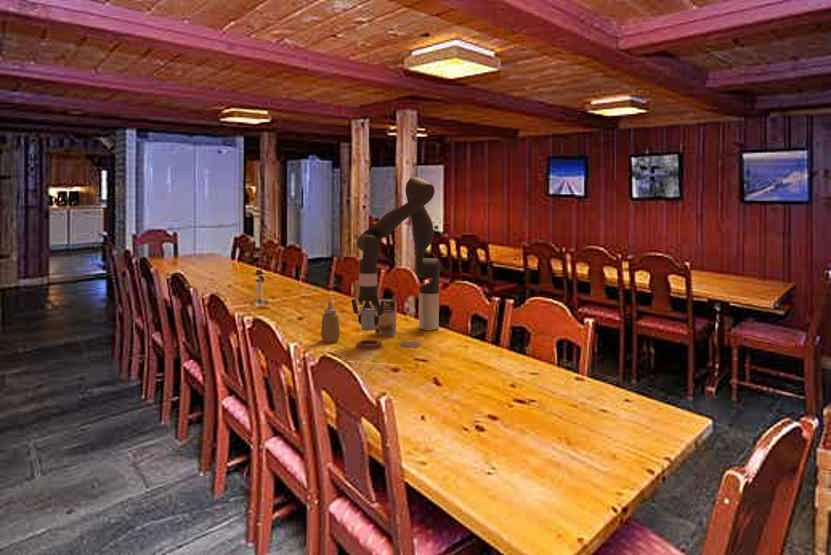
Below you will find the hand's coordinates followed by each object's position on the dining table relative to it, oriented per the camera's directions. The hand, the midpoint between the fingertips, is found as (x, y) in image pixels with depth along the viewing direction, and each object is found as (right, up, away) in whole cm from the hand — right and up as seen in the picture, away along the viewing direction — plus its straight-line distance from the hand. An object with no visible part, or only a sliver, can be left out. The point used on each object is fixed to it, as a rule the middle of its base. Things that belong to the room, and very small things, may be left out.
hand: (368, 324), depth 228 cm
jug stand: (0, -10, +1) cm, 10 cm away
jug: (-1, -2, -2) cm, 3 cm away
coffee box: (+6, -7, +21) cm, 23 cm away
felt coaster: (+17, -10, +4) cm, 20 cm away
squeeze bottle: (-17, -9, +8) cm, 21 cm away
